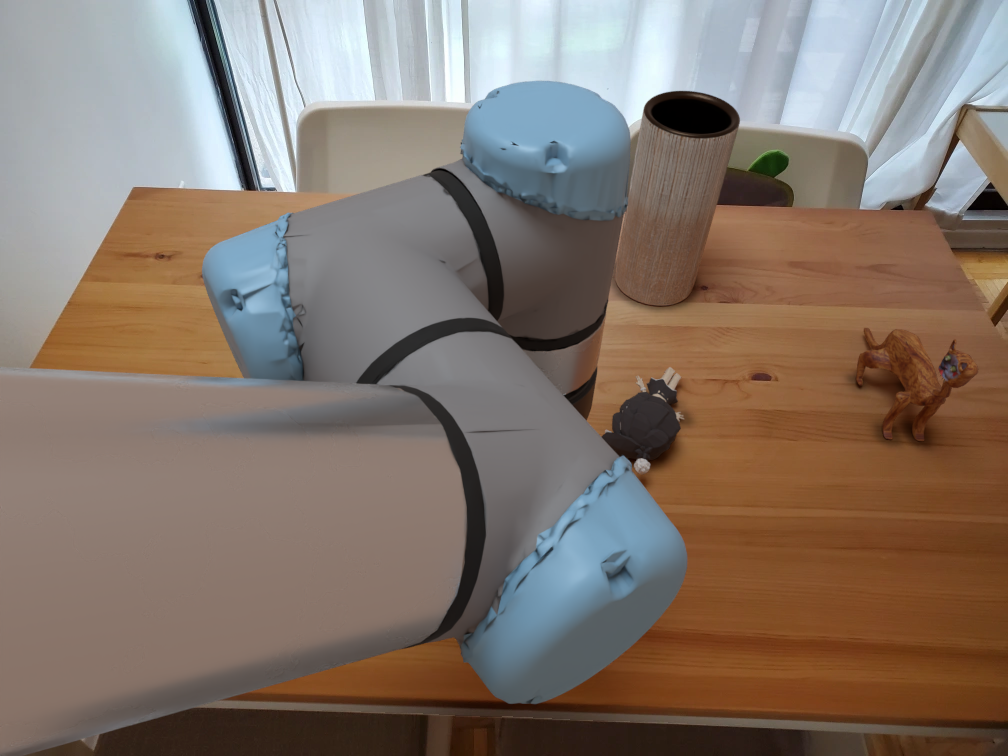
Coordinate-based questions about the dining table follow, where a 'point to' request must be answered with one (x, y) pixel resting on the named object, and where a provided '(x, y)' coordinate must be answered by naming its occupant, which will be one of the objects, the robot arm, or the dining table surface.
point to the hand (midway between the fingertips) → (522, 539)
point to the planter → (673, 194)
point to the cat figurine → (915, 375)
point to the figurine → (646, 422)
